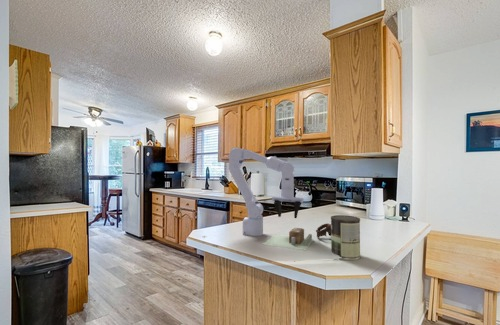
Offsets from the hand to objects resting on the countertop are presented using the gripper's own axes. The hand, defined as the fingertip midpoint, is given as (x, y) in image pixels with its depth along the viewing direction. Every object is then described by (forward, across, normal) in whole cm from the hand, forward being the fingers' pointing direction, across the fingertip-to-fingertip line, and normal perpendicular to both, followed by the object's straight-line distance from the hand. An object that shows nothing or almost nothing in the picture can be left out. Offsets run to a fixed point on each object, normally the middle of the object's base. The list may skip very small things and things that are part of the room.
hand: (287, 217), depth 116 cm
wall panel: (+10, +3, -9) cm, 14 cm away
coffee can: (+10, +26, -14) cm, 31 cm away
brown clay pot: (+10, +18, +8) cm, 22 cm away
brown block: (+9, +6, -7) cm, 13 cm away
